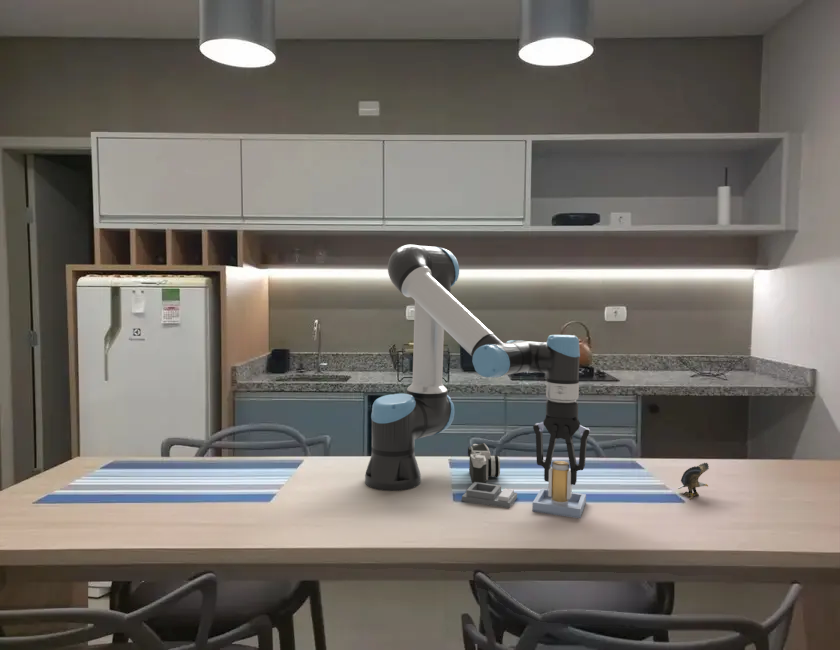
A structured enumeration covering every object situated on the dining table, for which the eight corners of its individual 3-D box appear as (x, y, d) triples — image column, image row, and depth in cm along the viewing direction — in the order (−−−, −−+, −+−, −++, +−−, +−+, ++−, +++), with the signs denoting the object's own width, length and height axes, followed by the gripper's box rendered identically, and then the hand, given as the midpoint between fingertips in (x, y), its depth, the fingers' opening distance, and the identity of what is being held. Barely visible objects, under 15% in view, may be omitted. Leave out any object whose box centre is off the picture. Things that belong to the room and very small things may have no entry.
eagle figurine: (707, 503, 146) (708, 468, 145) (675, 498, 149) (677, 463, 149) (708, 494, 152) (709, 460, 152) (678, 489, 156) (679, 456, 155)
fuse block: (461, 502, 145) (461, 490, 145) (471, 492, 152) (471, 480, 152) (509, 509, 140) (509, 497, 140) (516, 498, 148) (517, 486, 148)
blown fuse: (549, 505, 140) (550, 464, 140) (552, 500, 144) (553, 460, 143) (567, 508, 139) (568, 466, 138) (569, 502, 142) (570, 462, 142)
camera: (503, 489, 155) (503, 452, 154) (470, 489, 155) (471, 451, 155) (495, 471, 171) (496, 437, 170) (466, 470, 171) (466, 437, 170)
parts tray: (532, 512, 138) (532, 502, 138) (541, 497, 149) (541, 488, 148) (580, 520, 134) (580, 509, 134) (585, 504, 144) (586, 494, 144)
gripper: (524, 399, 140) (522, 496, 141) (597, 405, 133) (594, 506, 135) (530, 394, 147) (528, 486, 148) (600, 399, 140) (597, 495, 142)
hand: (559, 495), depth 141 cm, fingers closed on blown fuse, 4 cm apart
